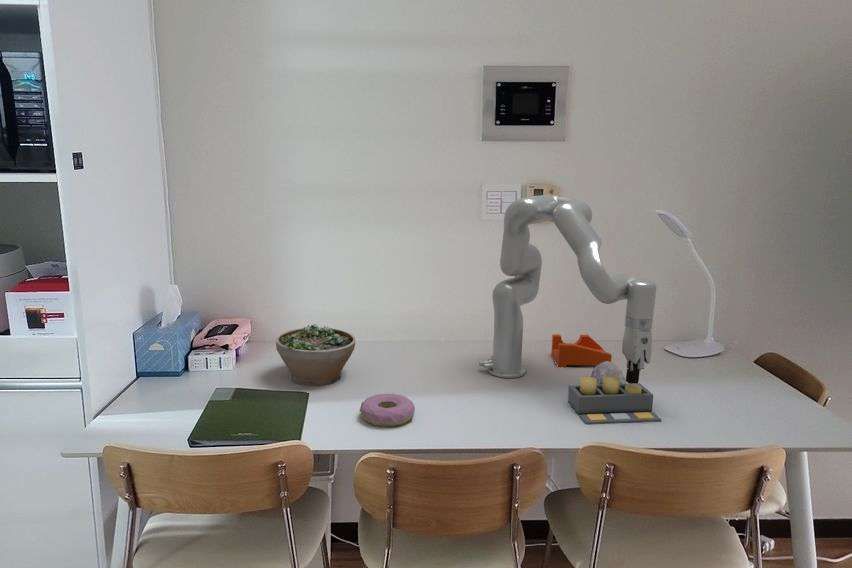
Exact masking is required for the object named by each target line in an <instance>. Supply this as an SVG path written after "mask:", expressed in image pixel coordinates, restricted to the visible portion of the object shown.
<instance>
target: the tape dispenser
mask: <svg viewBox="0 0 852 568" xmlns="http://www.w3.org/2000/svg"><path fill="white" fill-rule="evenodd" d="M551 338H552V339H551V352H550V353H551V357H552V359H553V360H555V361H554V363H555V362H556V363H555V364H556V365H558V366H557V367H558V368H561V367H566V368H567V366H597V365H599V364H601V363H603V362H605V361H609V362H612V359H613V358H612V357H613V355H612V353H610V352H608V351H605V349H604V348H603V347H602V346H601V345H600V344H598V343H597V341H595V340H594V339H593V338H592V337H591V336H589V335H588V334H579V338H578V339H577V341H576V342H574V343H568V342H567V343H565V342H564V341H563V339H562V336H561V334H560V333H559V334H558V333H557V334H552V336H551Z"/></svg>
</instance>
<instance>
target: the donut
mask: <svg viewBox="0 0 852 568" xmlns="http://www.w3.org/2000/svg"><path fill="white" fill-rule="evenodd" d="M415 408H416V407H415V404H414V402H413V401H412V400H411V399H409V398H408V397H406V396H405V395H403V394H396V393H377V394H374V395H372V396H370V397H367V398H366V399H365V400H364V401H362V402H361V405H360V408H359V412H360V415H361V417H362V419H364V421H366V422H368V423H370V424H372V425H374V426H376V427H390V428H391V427H396V426H400V425H404V424H406V423H407V422H409V421H410V420H411V419H412V418H413V417H414V415H415V411H416V409H415Z"/></svg>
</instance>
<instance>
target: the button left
mask: <svg viewBox="0 0 852 568" xmlns="http://www.w3.org/2000/svg"><path fill="white" fill-rule="evenodd" d="M596 384H597V379H596V378H595V377H591V375H583V376H581V377H580V381H579V385H580V392H579V393H580V394H581V395H582V396H583V395H596Z"/></svg>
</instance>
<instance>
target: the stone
mask: <svg viewBox="0 0 852 568" xmlns="http://www.w3.org/2000/svg"><path fill="white" fill-rule="evenodd" d="M591 371H592V372H591V375H590V376H591V377H595V378H596V379H597V384H596V385H603V377H604V376H606V375H612V376H617V377H619V378H620V382H619V384H627V382H626V377H625V376H624V374H623V372H622V369H621V368H620V367H619V366H618V365H617V364H616V363H614V362H612V361H611V362H609V361H605V362H603V363H601V364H599V365H595V367H594V368H593V369H592V370H591Z"/></svg>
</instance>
